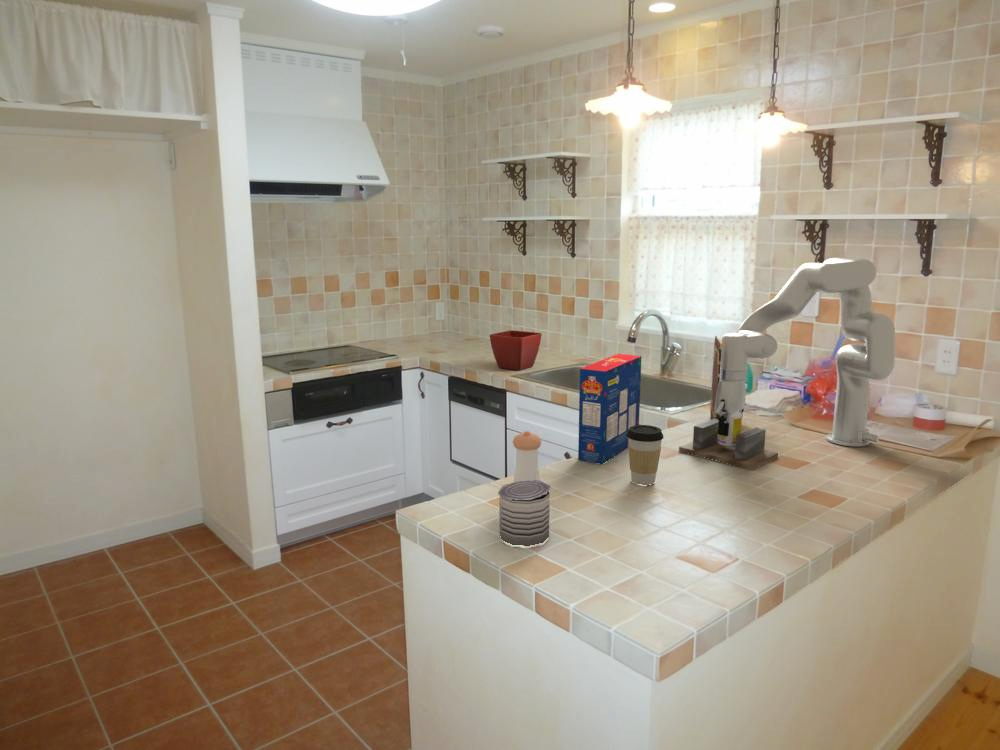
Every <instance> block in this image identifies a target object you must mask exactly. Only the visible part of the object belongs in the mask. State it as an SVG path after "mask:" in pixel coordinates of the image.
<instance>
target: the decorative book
mask: <svg viewBox="0 0 1000 750" xmlns="http://www.w3.org/2000/svg"><path fill="white" fill-rule="evenodd" d="M713 343H714V346H713V357H712V358H713V360H712V374H711V376H712V377H711V395H710V409H709V410H710V420H712V419H717V416H716V414H715V412H716V411H715V403H716V395H717V388H718V384H719V380H720V366H721V350H722V339H718V337H717V335H715V337H714V342H713Z"/></svg>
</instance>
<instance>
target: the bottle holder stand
mask: <svg viewBox="0 0 1000 750" xmlns="http://www.w3.org/2000/svg"><path fill="white" fill-rule="evenodd" d="M692 434H693V436H692V441H690V442H687V443H685V444H682V445H680V446H678V447H679V448H678V449H679V450H678V452H679V451H680V453H683V452H685V453H684V454H687V453H689V454H688V455H691V454H693V455H692V456H694V455H697V456H696V457H698V456H701V457H700V458H702V457H705V458H704V459H706V458H709V459H708V460H710V459H713V460H712V461H714V460H717V461H720V462H719V463H721V462H724V463H723V464H725V463H728V464H727V465H729V464H731V465H730V466H733V465H735V466H734V467H737V466H739V467H738V468H740V467H742V468H741V469H744V468H745V469H744V470H748V469H750V470H749V471H754V470H756V469H757V467H758V468H760V467H762V466H764V465H766V464H769V463H770V462H773V461H775V460H777V459H779V453H778V452H775V451H772V450H766V449H765V443H766V429H765V428H760V427H754V428H752V429H750V430H749V429H748V430H747V431H744V432H741V434H739V435H737V436H736V446H734V447H729V446H723V445H720V444H719V443H718V442H717V437H718V419H712V420H711V419H710V420H706V421H703V422H702V423H699V424H696V425H693V433H692ZM717 461H716V462H717ZM761 465H762V466H761ZM759 466H760V467H759ZM755 468H756V469H755ZM753 469H754V470H753Z"/></svg>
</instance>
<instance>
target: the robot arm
mask: <svg viewBox="0 0 1000 750" xmlns="http://www.w3.org/2000/svg"><path fill="white" fill-rule="evenodd" d="M876 276H877V267H876V265H875V264H874V262H872V261H871V260H869V259H867V258H858V257H855V258H854V257H845V256H844V257H843V256H842V257H841V256H837V257H829V258H827V259H826V260H824V261H823V262H805V263H803V264H802V265H800V266H799V267H798V268H797V269H796V271H795V272H794V273H793V274H792V276H791V277H790V278H789V279H788V281H787V282H786V283H785V285H784V286H783V287H782V289H780V291H779V292H778V293H777V295H776V296H775V297H774V298H773V299H772V300H770V301H768V302H767V303H765V304H764V305H762V306H761V307H759V308H758V309H755V310H754V311H753V312H752V313H751V314H749V316H747V318H746V319H745V320H744V321H743V322H742V324H740V326H739V328H738V329H737V330H736V332H733V333H732V332H729V333H725V334H724V335H723V336H722V339H721V340H722V350H721V366H720V380H719V384H718V388H717V395H716V403H715V411H716V412H715V414H716V416H717V419H718V434H719V435H723V436H728V433H729V423H728V420H729V416H730V414H732V413H735V412H736V411H739V412H741V414H742V418H743V416H744V415H743V413H744V410H745V408H746V406H747V405H746V404H747V403H746V394H747V393H746V381H747V372H748V359H749V358H752V359H760V360H761V359H764V360H765V359H769V358H770V357H772V356H773V355H774V354H775V353H776V352H777V349H778V342H777V340H776V338H775V337H774V336H772V335H770V334H768V333H765V332H764V331H766V330H767V329H769V328H771V326H774V325H776V324H778V323H782V322H786V321H788V320H792V319H795V318H796V317H798V316H800V314H802V312H803V310H804V309H805V308H806V306H808V304H809V303H810V302H811V300H812V299H813V298H814V297H815V295H816V294H817V293H822V294H823V293H825V294H836V293H838V294H839V297H840V329H841V330H840V331H841V334H842V336H843V337H844V338H845V339H847V340H851V341H855V342H858V343H849V344H845V345H843V346H841V347H840V348H839V350H838V351H837V353H836V357H835V367H836V378H837V379H836V392H835V402H834V411H833V423H832V430H831V431H832V432H830V433H828V434H826V436H825V437H826V440H827V441H829V442H830V443H832V444H835V445H839V446H843V447H856V448H857V447H867V446H869V445H870V444H871V442H873V443H879V441H880V437H879V436H878V435H877V434H875V433H874V434H873V433H870V428H867V422H868V421H867V420H868V410H869V402H870V393H871V387H870V385H871V384H870V381H869V379H870V380H875V381H881V380H882V381H883V380H885V379H887V378H888V377H889V376H891V375H892V372H893V370H894V366H895V361H896V359H895V358H896V357H895V356H896V353H895V352H896V328H895V324H894V321H893V320H892V319H891V318H890V317H889V316H888V315H886V314H883V313H879V312H873V306H872V291H871V289H870V285H871V284H873V282H874V280H875V279H876ZM861 343H864V344H861ZM865 344H866V345H865ZM723 411H727V413H726V412H723ZM723 414H724V415H726V417H724V415H723Z"/></svg>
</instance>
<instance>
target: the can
mask: <svg viewBox="0 0 1000 750" xmlns="http://www.w3.org/2000/svg"><path fill="white" fill-rule="evenodd" d="M551 487H552V486H551V485H550V484H548V483H546V482H544V481H541V479H540V480H519V481H516V482H514V481H513V482H510V483H507V484H503V485H502V486H501V488H500V489H499V491H498V493H497V494H498V495H499V497H498V498H499V537H500V536H501V538H500V540H501V539H502V540H503V541H505V542H507V543H510V544H512V545H524V546H530V545H535V544H539V543H543V542H544V541H545V540H546V539H547V538H548V537H549V538H550V502H551V501H550V498H551V496H550V494H551V493H550V492H549V490H550V489H551Z"/></svg>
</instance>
